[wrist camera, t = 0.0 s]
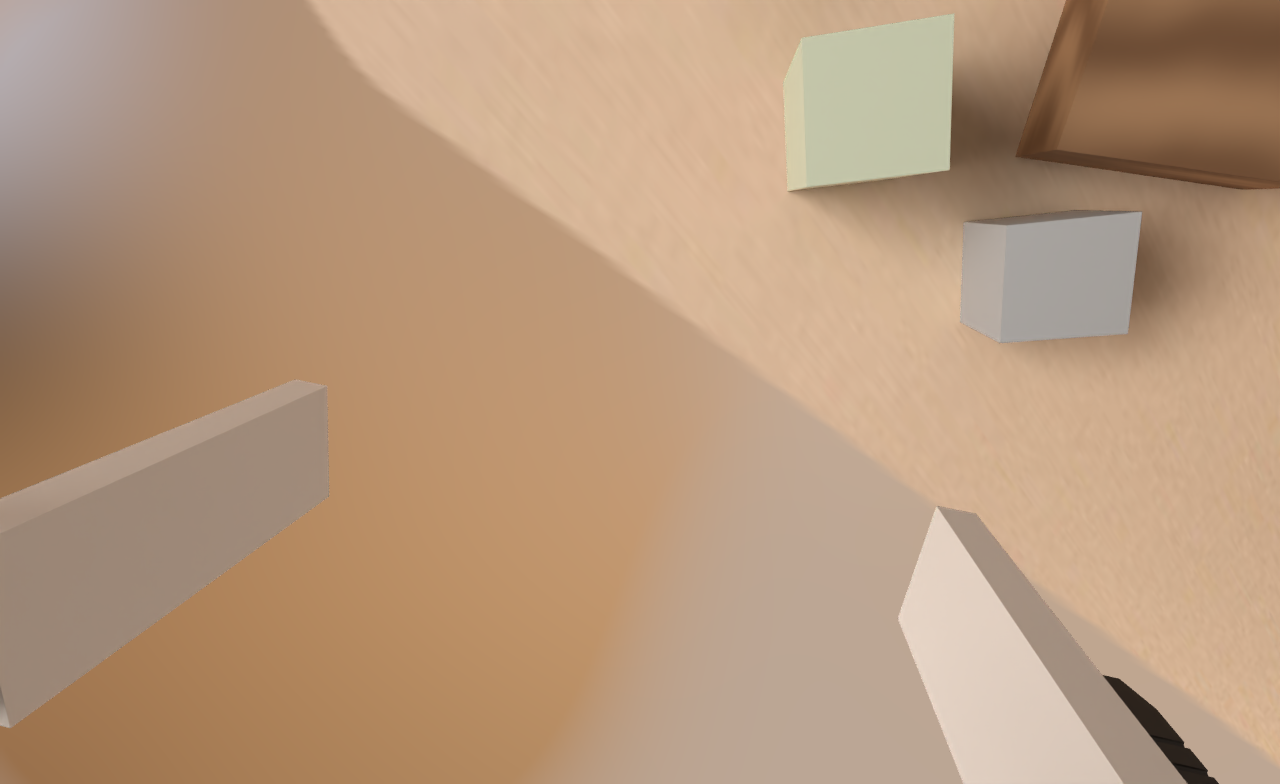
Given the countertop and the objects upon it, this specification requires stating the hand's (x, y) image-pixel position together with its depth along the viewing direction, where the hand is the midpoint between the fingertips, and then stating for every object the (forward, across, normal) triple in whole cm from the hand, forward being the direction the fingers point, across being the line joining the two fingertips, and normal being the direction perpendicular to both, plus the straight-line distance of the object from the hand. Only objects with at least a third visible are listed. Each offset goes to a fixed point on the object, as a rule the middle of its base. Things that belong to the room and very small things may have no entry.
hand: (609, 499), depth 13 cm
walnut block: (+28, +23, +17) cm, 40 cm away
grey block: (+28, +19, +5) cm, 34 cm away
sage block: (+28, +7, +11) cm, 31 cm away
